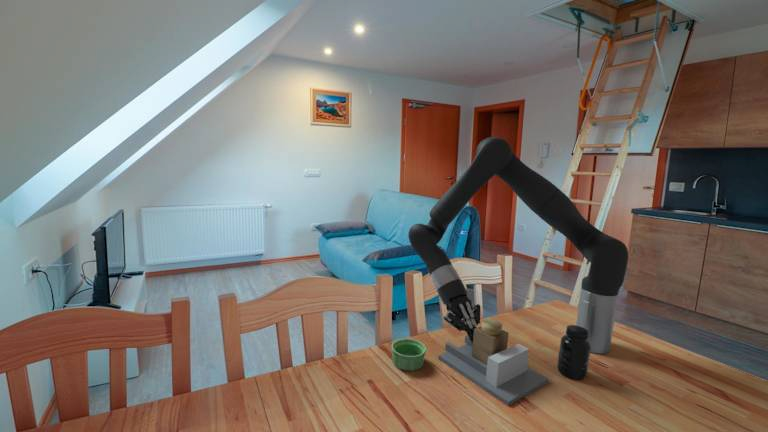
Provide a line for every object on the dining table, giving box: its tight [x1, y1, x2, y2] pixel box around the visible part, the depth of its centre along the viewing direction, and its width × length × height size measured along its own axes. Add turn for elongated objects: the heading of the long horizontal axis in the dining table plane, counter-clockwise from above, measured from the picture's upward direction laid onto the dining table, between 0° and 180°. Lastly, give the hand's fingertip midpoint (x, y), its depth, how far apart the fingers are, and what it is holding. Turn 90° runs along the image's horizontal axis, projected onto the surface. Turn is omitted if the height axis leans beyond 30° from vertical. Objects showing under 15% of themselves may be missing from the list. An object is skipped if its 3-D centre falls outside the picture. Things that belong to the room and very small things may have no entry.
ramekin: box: [391, 338, 427, 372], centre depth 94 cm, size 9×9×4 cm
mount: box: [437, 334, 550, 406], centre depth 93 cm, size 16×23×7 cm
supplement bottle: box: [556, 324, 591, 381], centre depth 92 cm, size 7×7×12 cm
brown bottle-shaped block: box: [472, 318, 509, 365], centre depth 92 cm, size 6×6×11 cm
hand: (478, 342), depth 95 cm, fingers closed
